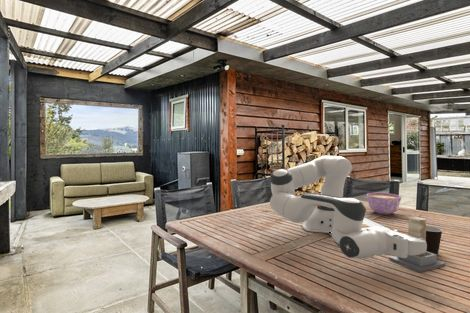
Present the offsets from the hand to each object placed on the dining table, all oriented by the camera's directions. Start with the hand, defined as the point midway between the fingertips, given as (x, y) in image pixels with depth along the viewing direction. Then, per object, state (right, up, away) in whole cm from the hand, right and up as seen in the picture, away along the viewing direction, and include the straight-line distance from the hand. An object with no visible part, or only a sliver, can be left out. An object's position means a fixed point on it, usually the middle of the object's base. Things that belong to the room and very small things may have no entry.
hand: (409, 235), depth 104 cm
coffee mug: (+17, -11, +14) cm, 25 cm away
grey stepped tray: (+5, -11, +3) cm, 12 cm away
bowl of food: (+32, -8, +79) cm, 85 cm away
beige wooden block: (+5, -10, +3) cm, 11 cm away
